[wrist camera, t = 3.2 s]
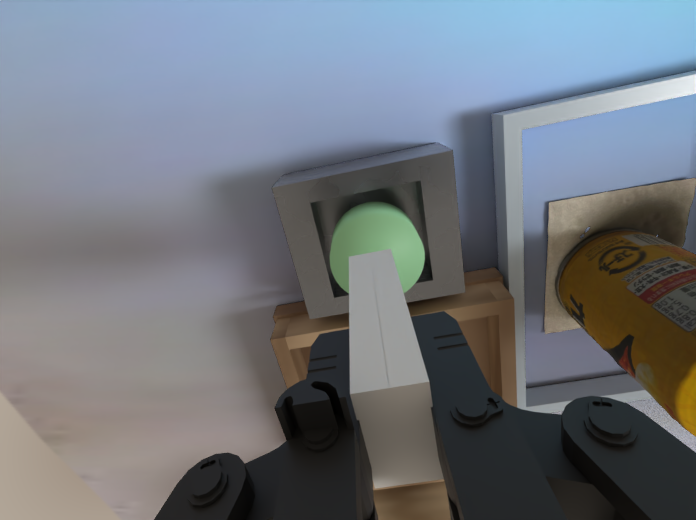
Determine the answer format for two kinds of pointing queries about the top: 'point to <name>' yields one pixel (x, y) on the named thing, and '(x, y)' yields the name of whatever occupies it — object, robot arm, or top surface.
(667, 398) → the condiment
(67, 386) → the top surface
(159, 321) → the top surface
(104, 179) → the top surface
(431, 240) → the button housing
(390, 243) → the button
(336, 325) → the brown divided tray
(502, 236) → the frame
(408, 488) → the block
